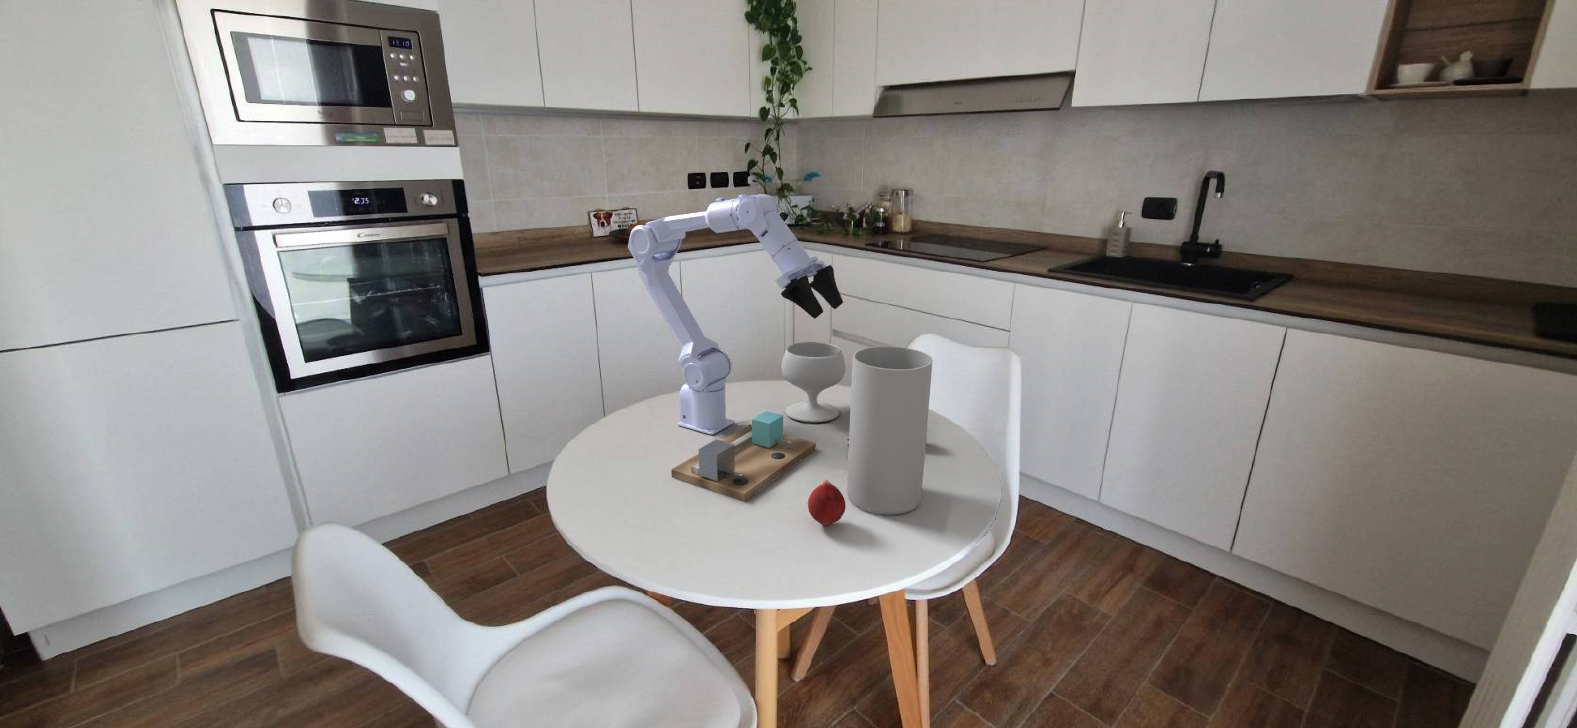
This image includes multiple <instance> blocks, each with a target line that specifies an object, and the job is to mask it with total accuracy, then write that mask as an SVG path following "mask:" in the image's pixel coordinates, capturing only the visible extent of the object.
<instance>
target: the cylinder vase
mask: <svg viewBox="0 0 1577 728" xmlns="http://www.w3.org/2000/svg"><path fill="white" fill-rule="evenodd" d="M932 371H933V358H932V356H930V354H928V353H925V352H924V351H921V350H917V349H913V348H910V347H909V348H908V347H903V346H890V345H889V346H886V345H884V346H883V345H882V346H881V345H880V346H869V347H866V348H860V349H858V350H857V351H855V352H854V353H853V354H852V367H851V385H850V407H849V409H850V410H849V411H850V412H849V434H848V438H849V441H848V443H849V448H848V454H847V455H848V456H847V459H848V460H847V478H846V479H847V481H846V495H847V498H848V500H849V501H850V502H851V503H852V505H855V507H857V508H859V509H861V510H862V511H865V512H868V513H872V514H875V515H884V516H894V515H901V514H905V513H909V512H911V511H913V510H914V509H916V508H917V507H918V506H919V504H920V503H921V501H922V491H923V481H924V469H925V457H926V455H925V454H926V446H927V434H928V433H927V432H928V422H929V409H930V395H931V385H932V384H931V383H932V375H933V374H932Z"/></svg>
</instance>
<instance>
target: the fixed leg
mask: <svg viewBox="0 0 1577 728" xmlns="http://www.w3.org/2000/svg"><path fill="white" fill-rule="evenodd" d="M698 454H699V475H700V476H703V477H706V478H709V479H712V480H715V481H719V480H721V479H722V478H724V477H725V476H727V475H728V476H731V477H734V478H737V479H738V481H742V479H743V478H744V475H743V474H742V473H737V472H733V471H734V470H735V445H734V444H731V443H728V442H724V441H722V440H720V439H717V438H716V439H714V440H712V441H711V442H709V443H707V444H706V445H703V446H702V447H700V448H699V449H698Z"/></svg>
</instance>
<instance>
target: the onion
mask: <svg viewBox="0 0 1577 728" xmlns="http://www.w3.org/2000/svg"><path fill="white" fill-rule="evenodd" d="M807 508H808V513H809V514H810V516H811V517H812V519H813V520H815V522H817V523H818V524H819V525H821V526H823V527H828V526H832V525H833V524H836V523H837V522H839V521H840V520H841V519H842V518H843V516H844V513H845V511H846V499H845V497H844V495H843V493H842V492H841V491H840V490H839V488H838V487H837V486H835V485H834V484H832V483H831V482H830V480H829V479H827V478H824V479H823V481H822V484H819V485H818V486H816V487H815V488H814V489H813V490H812V491H811V493H810V495H809V497H808V500H807Z"/></svg>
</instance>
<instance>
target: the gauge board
mask: <svg viewBox="0 0 1577 728" xmlns="http://www.w3.org/2000/svg"><path fill="white" fill-rule="evenodd" d="M783 440H787V441H791V442H793V445H792V446H791V448H788V446H787V445H783V444H780V443H776V444H774V445H773V446H771V447H770V448H767V447H764V446H760V445H757V444H753V443H752V424H749V425H746V426H744V427H743V428H741V429H739V430H738V431H736V432H734V433H732V434H730V435H729V436H726V437H725V438H724V439H722V440H721V441H724V442H728V443H731V444H734V445H735V470H734V471H733V472H737V473H742V474H743V475H744V478H743V479H742V481H738V479H737V478H734V477H731V476H728V475H727V476H725V477H724V478H722V479H721V480H719V481H715V480H712V479H709V478H706V477H703V476H700V475H699V453H698V454H695V455H694V456H692V457H690V458H688V459H686V460H685V461H683V462H682V463H680V464H678V465H677V466H675V467H672V468H671V471H670V472H671V477H672V478H674V479H676V478H677V479H676V480H680V481H682V482H685V483H688V484H692V485H695V486H697V487H700V488H703V489H706V490H709V491H712V492H715V493H718V494H721V495H723V496H727V497H730V498H733V499H735V500H739V501H742V502H746V501H748V500H749V499H750V498H751V496H752V495H753V496H755V495H756V494H757V493H758V492H760V491H761V490H763V489H764V488H766V487H767V486H769V484H771V483H772V482H774V481H775V480H776V479H778V478H779V477H780V476H782V475H783V474H785V473H786V472H787V471H789V470H790V469H792V468H793V467H794V466H795V464H796V463H797V464H798V463H800V462H801V461H802V460H804V459H805V458H807V457H808V456H810V455H811V454H812V453H814V452H815V451H816V449H817V445H816V444H817V443H816V442H814V441H810V440H807V439H803V438H799V437H795V436H791V435H789V434H784V433H783ZM800 460H801V461H800ZM799 461H800V462H799ZM797 464H796V465H797ZM792 466H793V467H792ZM778 476H779V477H778ZM777 477H778V478H777ZM774 479H775V480H774ZM773 480H774V481H773ZM759 490H760V491H759ZM755 493H756V494H755ZM753 496H752V497H753Z"/></svg>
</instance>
